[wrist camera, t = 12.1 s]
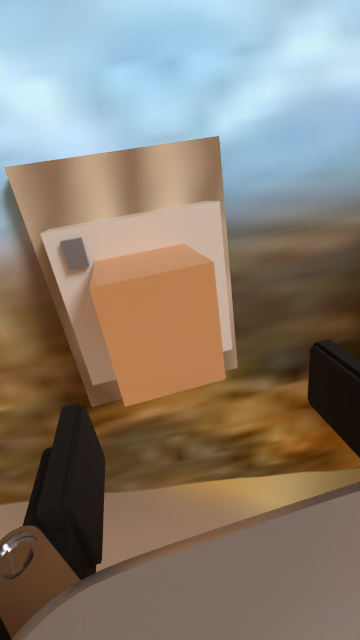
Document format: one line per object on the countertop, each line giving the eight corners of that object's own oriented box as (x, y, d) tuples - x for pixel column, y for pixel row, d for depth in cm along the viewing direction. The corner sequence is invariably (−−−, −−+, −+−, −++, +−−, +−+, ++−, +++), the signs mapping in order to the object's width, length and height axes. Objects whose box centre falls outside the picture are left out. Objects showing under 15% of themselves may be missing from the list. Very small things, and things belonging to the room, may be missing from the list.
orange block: (177, 239, 24) (213, 261, 16) (190, 325, 27) (225, 379, 19) (95, 256, 23) (89, 288, 15) (119, 342, 26) (124, 406, 18)
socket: (207, 200, 24) (222, 201, 21) (221, 335, 30) (234, 352, 26) (48, 229, 22) (38, 234, 19) (94, 367, 28) (92, 389, 24)
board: (210, 140, 24) (218, 136, 22) (230, 358, 34) (237, 367, 32) (12, 169, 22) (4, 167, 20) (92, 395, 31) (91, 407, 29)
